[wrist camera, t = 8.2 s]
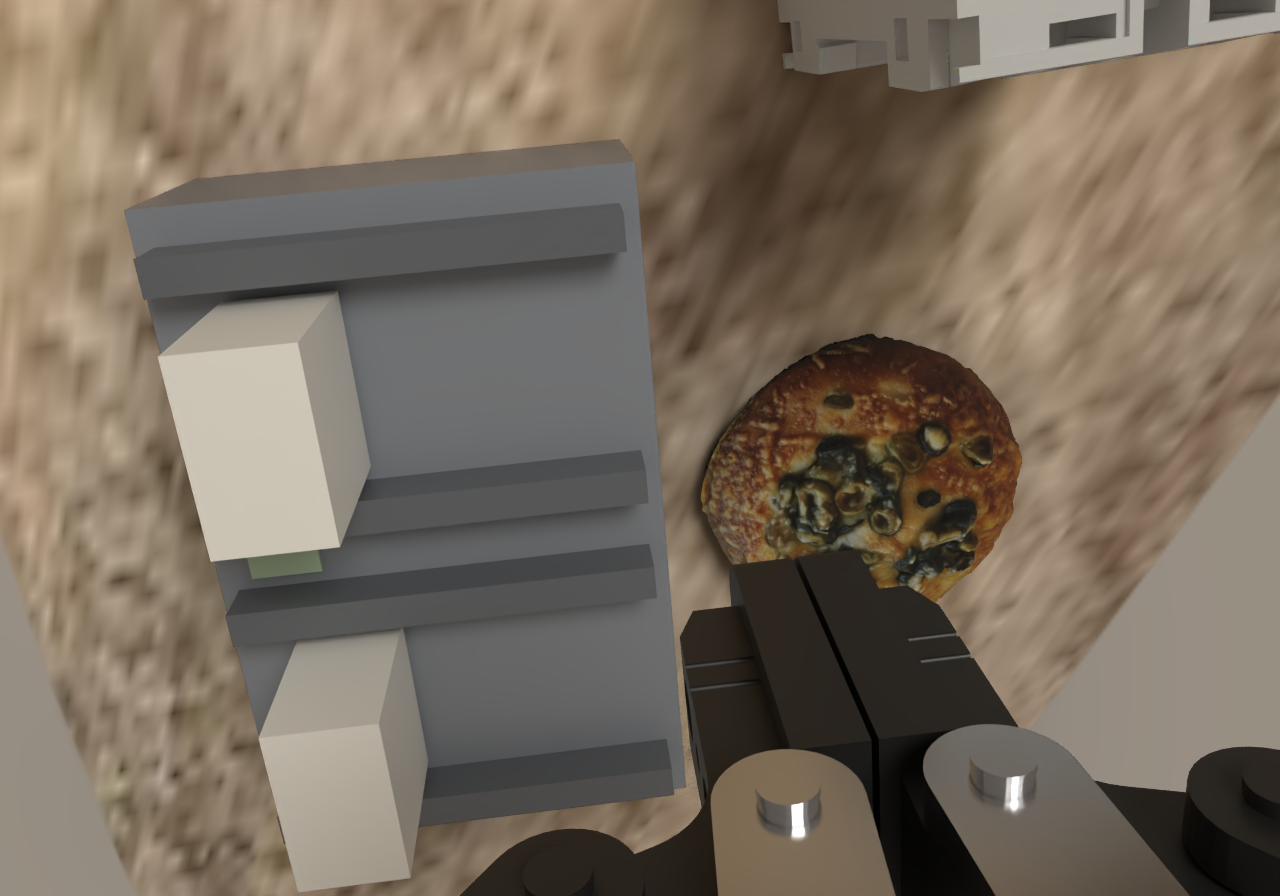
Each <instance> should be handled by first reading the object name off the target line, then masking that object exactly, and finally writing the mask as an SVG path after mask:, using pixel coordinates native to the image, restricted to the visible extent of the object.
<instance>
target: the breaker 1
mask: <svg viewBox="0 0 1280 896" xmlns="http://www.w3.org/2000/svg"><path fill="white" fill-rule="evenodd" d="M158 360H159V364H160V368H161V371H162V375H163V379H164V383H165V387H166V391H167V395H168V399H169V402H170V406H171V410H172V414H173V418H174V422H175V426H176V430H177V433H178V437H179V441H180V445H181V449H182V453H183V457H184V461H185V464H186V468H187V472H188V476H189V480H190V484H191V488H192V492H193V495H194V499H195V503H196V507H197V511H198V515H199V519H200V522H201V526H202V530H203V534H204V538H205V542H206V546H207V550H208V553H209V557H210V561H211V562H212V561H221V560H230V559H239V558H248V557H257V556H266V555H275V554H284V553H293V552H302V551H311V550H320V549H328V548H337V547H340V546H341V543H342V541H343V538H344V535H345V533H346V530H347V528H348V525H349V522H350V520H351V517H352V515H353V512H354V509H355V507H356V504H357V502H358V499H359V496H360V494H361V491H362V488H363V486H364V483H365V481H366V478H367V475H368V473H369V470H370V468H371V465H370V459H369V454H368V449H367V443H366V438H365V433H364V428H363V422H362V417H361V412H360V406H359V401H358V396H357V391H356V385H355V380H354V375H353V369H352V364H351V359H350V354H349V348H348V343H347V338H346V332H345V327H344V322H343V317H342V311H341V306H340V301H339V295H338V290H337V291H327V292H317V293H307V294H296V295H286V296H276V297H266V298H256V299H246V300H236V301H226V302H221V303H219V304H218V305H217V306H216V307H215V308H214V309H212V310H211V311H210V312H209V313H208V314H207V315H205V316H204V317H203V318H202V319H201V320H200V321H199V322H197V323H196V324H195V325H194V326H193V327H192V328H190V329H189V330H188V331H187V332H186V333H185V334H183V335H182V336H181V337H180V338H179V339H178V340H177V341H175V342H174V343H173V344H172V345H171V346H170V347H168V348H167V349H166V350H165V351H164V352H163V353H161V354H160V355H159V356H158Z"/></svg>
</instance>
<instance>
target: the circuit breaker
mask: <svg viewBox="0 0 1280 896" xmlns="http://www.w3.org/2000/svg"><path fill="white" fill-rule="evenodd" d="M777 4H778V15H779V23H782V22H790V25H791V36H792V47H793V52H790V53H784V54H782V58H783V69H790V68H794V70H795V71H800V72H806V73H812V74H818V75H821V74H827V73H833V72H839V71H845V70H852V69H858V68H864V67H870V66H876V65H882V64H888V78H889V87H895V88H901V89H907V90H913V91H919V92H925V91H931V90H937V89H943V88H947V87H953V86H958V85H962V84H967V83H971V82H976V81H980V80H984V79H990V78H996V77H1001V79H1003V78H1009V77H1016V76H1022V75H1028V74H1034V73H1040V72H1046V71H1052V70H1059V69H1065V68H1071V67H1077V66H1083V65H1089V64H1095V63H1101V62H1107V61H1114V60H1120V59H1126V58H1132V57H1138V56H1144V55H1150V54H1156V53H1162V52H1169V51H1175V50H1181V49H1187V48H1193V47H1199V46H1205V45H1211V44H1217V43H1222V42H1227V41H1231V40H1236V39H1241V38H1246V37H1251V36H1256V35H1261V34H1266V33H1275V34H1277V33H1280V0H777Z"/></svg>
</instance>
